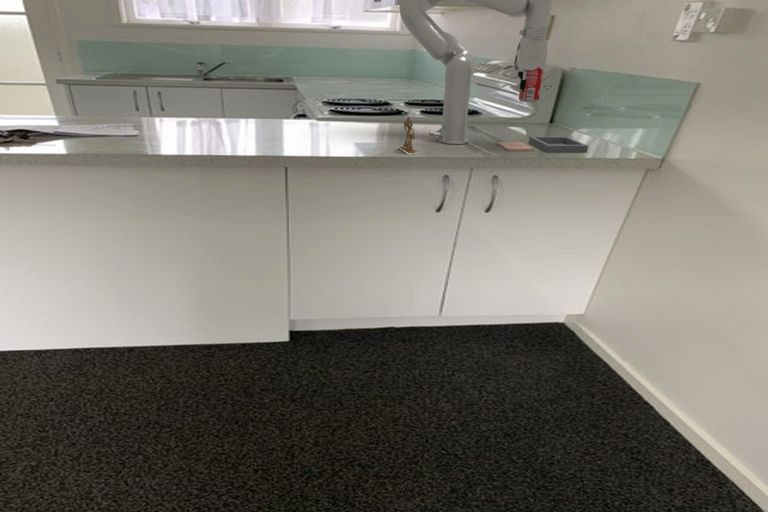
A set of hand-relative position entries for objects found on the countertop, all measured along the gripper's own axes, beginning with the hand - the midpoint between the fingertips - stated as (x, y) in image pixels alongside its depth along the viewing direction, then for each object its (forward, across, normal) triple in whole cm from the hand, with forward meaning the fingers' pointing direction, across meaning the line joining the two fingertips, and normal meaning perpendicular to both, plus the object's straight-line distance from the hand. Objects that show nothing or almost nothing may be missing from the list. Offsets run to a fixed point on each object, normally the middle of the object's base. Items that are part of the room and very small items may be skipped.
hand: (524, 91), depth 152 cm
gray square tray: (+20, +17, 0) cm, 26 cm away
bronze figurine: (+21, -43, -6) cm, 48 cm away
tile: (+20, 0, 0) cm, 20 cm away
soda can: (+4, +2, 0) cm, 4 cm away
